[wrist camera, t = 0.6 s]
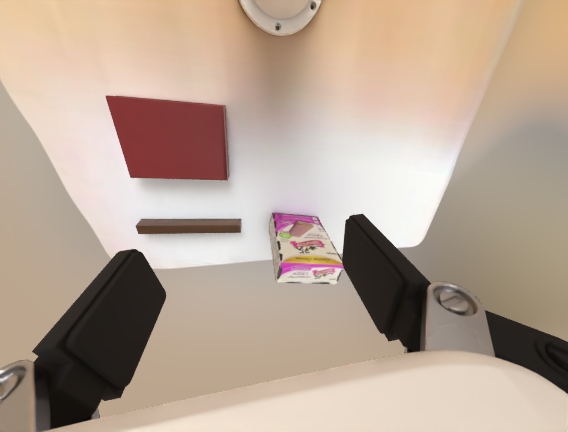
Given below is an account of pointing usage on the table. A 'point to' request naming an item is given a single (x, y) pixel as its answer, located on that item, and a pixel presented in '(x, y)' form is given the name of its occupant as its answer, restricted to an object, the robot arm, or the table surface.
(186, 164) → the book
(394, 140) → the table surface
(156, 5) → the table surface
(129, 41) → the table surface
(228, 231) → the rail
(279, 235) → the candy bar box
